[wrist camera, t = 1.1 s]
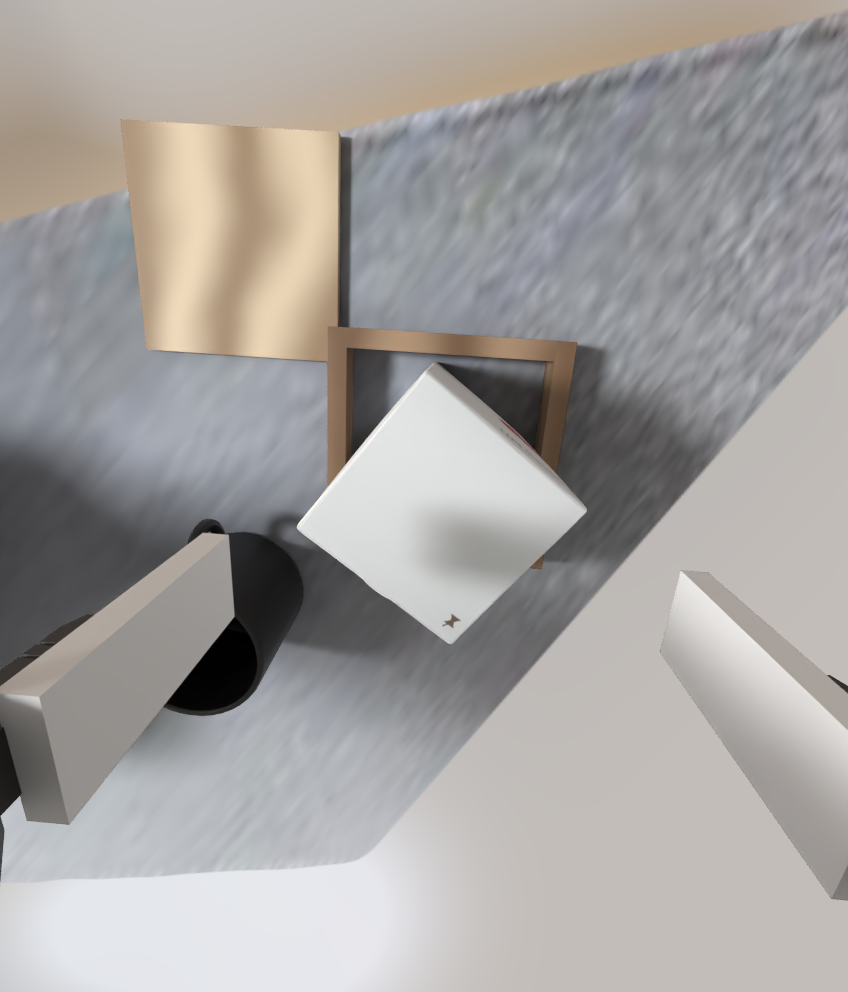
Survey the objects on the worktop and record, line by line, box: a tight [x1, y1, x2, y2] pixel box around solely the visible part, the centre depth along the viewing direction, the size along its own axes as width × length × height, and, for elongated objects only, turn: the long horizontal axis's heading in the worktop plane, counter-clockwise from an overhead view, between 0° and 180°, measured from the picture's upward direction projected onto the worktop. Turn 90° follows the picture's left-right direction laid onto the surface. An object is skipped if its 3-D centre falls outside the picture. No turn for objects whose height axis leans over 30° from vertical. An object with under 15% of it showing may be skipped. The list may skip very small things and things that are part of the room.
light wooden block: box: [121, 120, 341, 362], centre depth 30 cm, size 13×13×1 cm
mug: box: [163, 519, 303, 716], centre depth 33 cm, size 9×12×9 cm
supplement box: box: [297, 362, 587, 644], centre depth 26 cm, size 9×9×15 cm
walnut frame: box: [328, 326, 577, 569], centre depth 32 cm, size 15×15×2 cm
